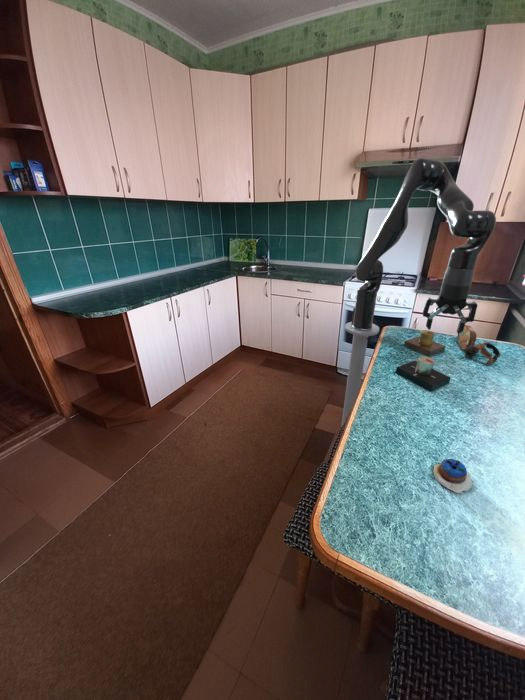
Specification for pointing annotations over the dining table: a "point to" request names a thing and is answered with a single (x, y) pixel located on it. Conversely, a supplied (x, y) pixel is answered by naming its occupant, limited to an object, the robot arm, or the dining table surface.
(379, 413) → the dining table surface
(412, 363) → the control box
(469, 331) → the tin
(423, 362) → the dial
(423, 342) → the dial
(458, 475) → the dessert
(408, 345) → the walnut box
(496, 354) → the brown black curved band
